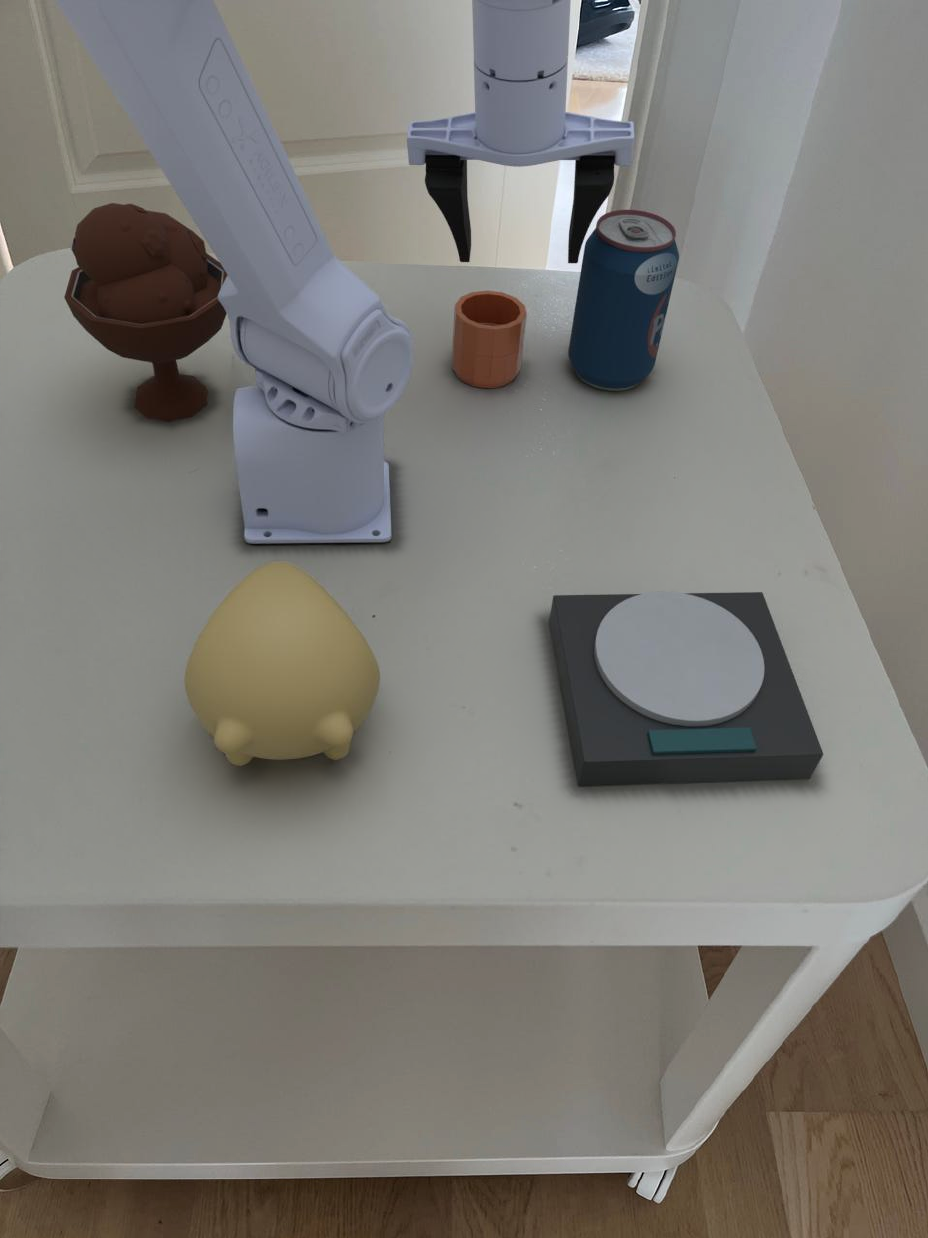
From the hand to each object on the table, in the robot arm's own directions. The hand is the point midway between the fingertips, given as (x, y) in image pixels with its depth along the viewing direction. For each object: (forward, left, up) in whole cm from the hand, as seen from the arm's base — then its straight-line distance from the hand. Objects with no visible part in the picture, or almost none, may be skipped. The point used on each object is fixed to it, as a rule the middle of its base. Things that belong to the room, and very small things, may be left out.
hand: (519, 254), depth 72 cm
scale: (+6, -32, -10) cm, 34 cm away
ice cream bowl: (-26, -3, -11) cm, 28 cm away
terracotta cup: (-2, +1, -10) cm, 10 cm away
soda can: (+8, +1, -11) cm, 13 cm away
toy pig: (-16, -33, -11) cm, 38 cm away
